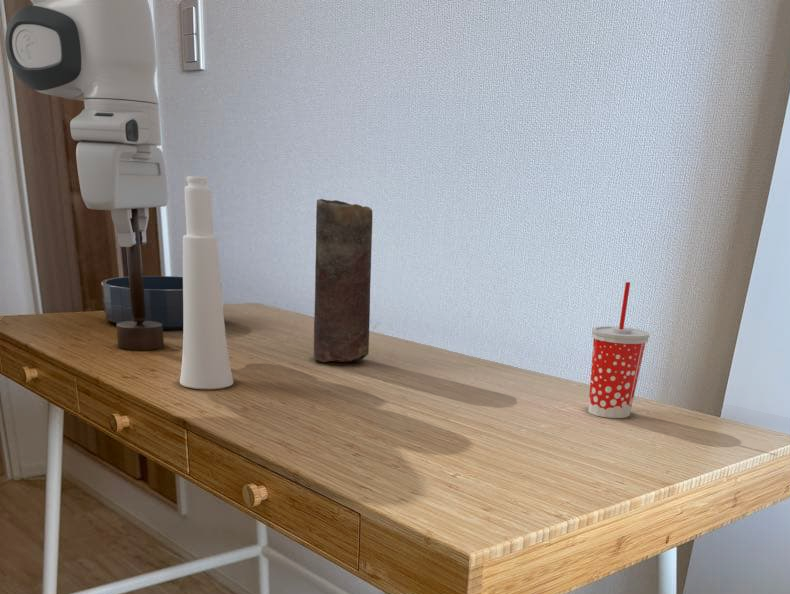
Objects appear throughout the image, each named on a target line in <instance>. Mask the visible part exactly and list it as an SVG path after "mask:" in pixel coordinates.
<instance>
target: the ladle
mask: <svg viewBox="0 0 790 594" xmlns="http://www.w3.org/2000/svg"><path fill="white" fill-rule="evenodd" d="M131 213H132V218H130V220H131V225H132V230H133V232H135V236H136V238H135V240H136V245H135V246H133V247H125V249H126V261H127V273H128V277H129V287H130V300H131V312H132V319H133V321H125V322H120V323H116V325H115V326H116V338H117V347H118V348H120V349H123V350H127V351H154V350H159V349H162V348H164V329H163V328H162V324H161V323H159V322H154V321H145V320H146V313H145V300H144V287H143V276H144V275H143V262H142V249H141V248H142V247H141V245H140V233H139V220H138V208H137V209H131Z"/></svg>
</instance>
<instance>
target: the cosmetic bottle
mask: <svg viewBox="0 0 790 594" xmlns="http://www.w3.org/2000/svg"><path fill="white" fill-rule="evenodd" d="M185 181H186V182H187V185H185V186H184V191H183V192H184V211H185V229H186V231H185V232H186V234H184V235H183V236H182V277H183V329H182V330H183V331H182V332H183V333H182V334H183V335H182V355H181V368H180V377H179V384H180V385H181V386H182V387H184V388H188V389H193V390H208V391H209V390H220V389H221V390H222V389H226V388H229V387H231V386H233V385H234V377H233V373H232V369H231V363H230V356H229V350H228V343H227V335H226V325H225V313H224V304H223V302H224V301H223V288H222V289H221V283H222V279H221V278H222V277H221V265H220V254H219V245H218V237H217V236H216V235H214V227H213V225H214V224H213V205H212V201H213V200H212V189H211V187H209V186H208V183H209V178H208V177H206V176H190V175H188V176H186V180H185Z"/></svg>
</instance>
